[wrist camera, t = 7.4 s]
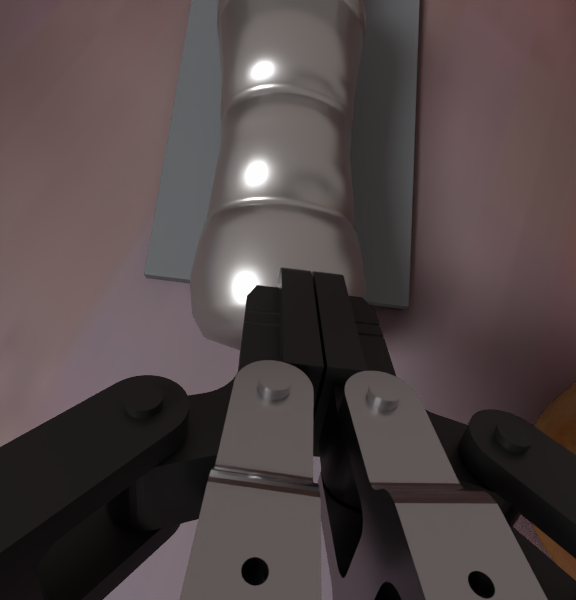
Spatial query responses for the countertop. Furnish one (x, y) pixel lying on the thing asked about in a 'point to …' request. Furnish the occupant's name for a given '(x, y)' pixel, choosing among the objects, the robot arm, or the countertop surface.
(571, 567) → the onion
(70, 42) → the countertop surface
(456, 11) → the countertop surface
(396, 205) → the mat
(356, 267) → the plastic bottle
